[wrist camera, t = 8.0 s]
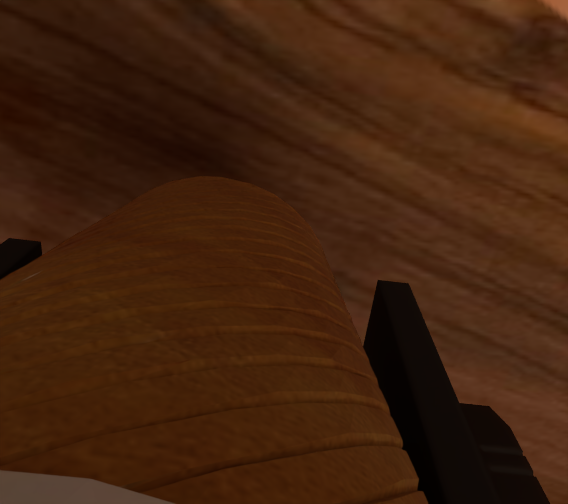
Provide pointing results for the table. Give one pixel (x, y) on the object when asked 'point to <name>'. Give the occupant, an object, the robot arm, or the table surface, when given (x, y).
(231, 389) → the disposable coffee cup
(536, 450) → the table surface
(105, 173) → the table surface
